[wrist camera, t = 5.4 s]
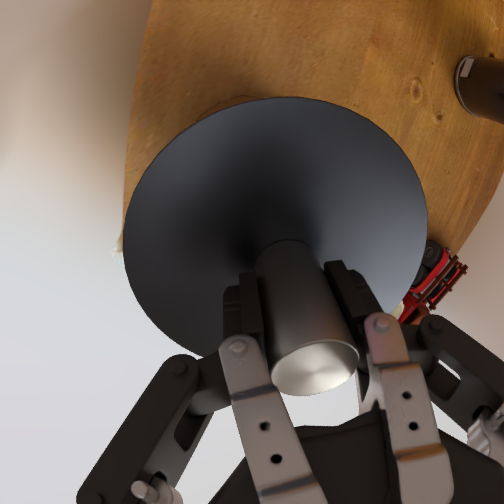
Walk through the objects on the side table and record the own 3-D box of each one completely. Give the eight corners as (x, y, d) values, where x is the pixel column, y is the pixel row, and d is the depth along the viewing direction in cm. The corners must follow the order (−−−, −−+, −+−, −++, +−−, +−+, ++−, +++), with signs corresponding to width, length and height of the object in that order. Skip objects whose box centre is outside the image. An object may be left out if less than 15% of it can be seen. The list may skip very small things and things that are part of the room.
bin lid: (426, 98, 11) (543, 133, 5) (393, 332, 19) (434, 416, 13) (94, 127, 11) (-10, 182, 5) (172, 364, 19) (163, 462, 13)
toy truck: (363, 313, 50) (380, 348, 43) (432, 232, 42) (461, 260, 35) (390, 326, 52) (407, 358, 45) (454, 253, 45) (480, 280, 38)
